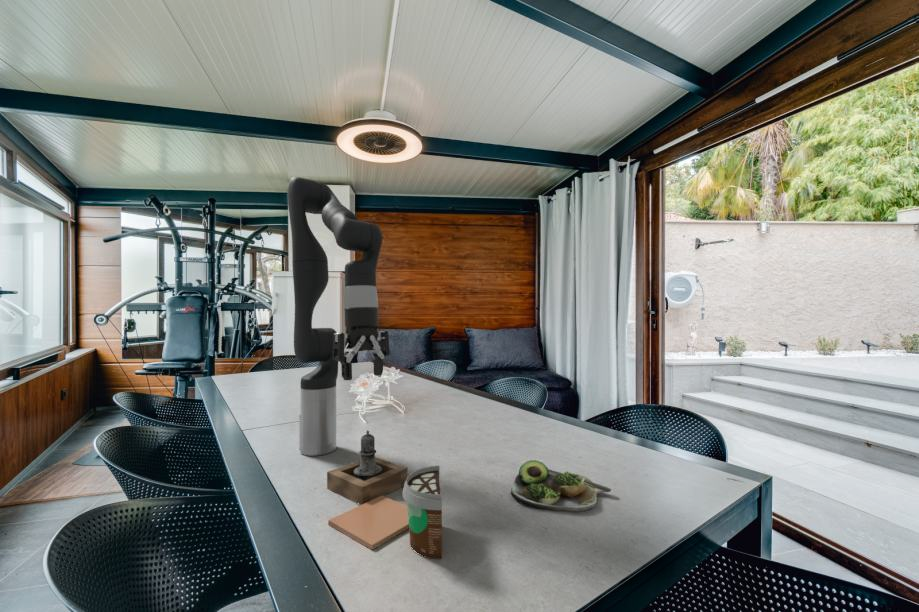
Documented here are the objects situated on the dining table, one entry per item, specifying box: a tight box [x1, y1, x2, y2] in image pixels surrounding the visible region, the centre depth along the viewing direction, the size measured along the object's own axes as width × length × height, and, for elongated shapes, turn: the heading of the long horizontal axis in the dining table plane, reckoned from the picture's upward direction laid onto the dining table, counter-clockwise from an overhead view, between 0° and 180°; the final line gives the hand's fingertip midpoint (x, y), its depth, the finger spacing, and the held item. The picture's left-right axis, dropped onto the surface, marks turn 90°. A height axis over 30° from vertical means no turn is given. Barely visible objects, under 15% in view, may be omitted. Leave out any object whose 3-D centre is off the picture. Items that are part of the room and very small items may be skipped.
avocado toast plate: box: [510, 459, 612, 512], centre depth 81 cm, size 19×18×5 cm
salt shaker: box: [354, 430, 382, 481], centre depth 84 cm, size 6×6×12 cm
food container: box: [402, 465, 443, 560], centre depth 64 cm, size 12×6×10 cm, turn 5°
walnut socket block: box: [326, 456, 409, 506], centre depth 84 cm, size 12×12×4 cm
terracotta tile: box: [328, 495, 409, 550], centre depth 70 cm, size 12×12×1 cm
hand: (363, 377), depth 89 cm, fingers open, 8 cm apart
